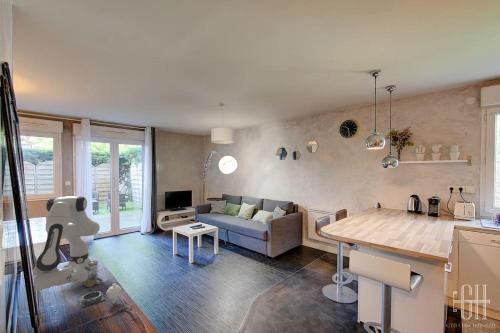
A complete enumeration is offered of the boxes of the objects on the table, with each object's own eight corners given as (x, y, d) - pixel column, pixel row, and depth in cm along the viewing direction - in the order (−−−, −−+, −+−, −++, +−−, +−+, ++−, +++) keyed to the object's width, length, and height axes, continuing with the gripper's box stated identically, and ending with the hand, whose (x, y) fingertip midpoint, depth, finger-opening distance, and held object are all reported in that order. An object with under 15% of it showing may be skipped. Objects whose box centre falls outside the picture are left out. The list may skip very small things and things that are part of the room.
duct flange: (78, 299, 141) (78, 294, 141) (100, 292, 149) (101, 288, 149) (81, 308, 132) (81, 303, 132) (105, 300, 141) (105, 296, 141)
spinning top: (107, 301, 140) (107, 281, 140) (121, 298, 143) (122, 279, 143) (104, 308, 133) (105, 288, 133) (119, 305, 136) (120, 285, 136)
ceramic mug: (83, 289, 153) (84, 277, 153) (84, 283, 160) (85, 272, 160) (102, 285, 158) (102, 274, 158) (102, 280, 165) (103, 269, 165)
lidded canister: (86, 277, 141) (87, 261, 141) (96, 275, 145) (97, 259, 145) (87, 281, 137) (88, 264, 137) (98, 278, 141) (98, 262, 141)
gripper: (68, 276, 125) (98, 269, 134) (64, 264, 139) (91, 258, 149) (67, 288, 124) (97, 280, 134) (64, 274, 139) (91, 268, 149)
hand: (94, 268), depth 142 cm, fingers closed on lidded canister, 5 cm apart
